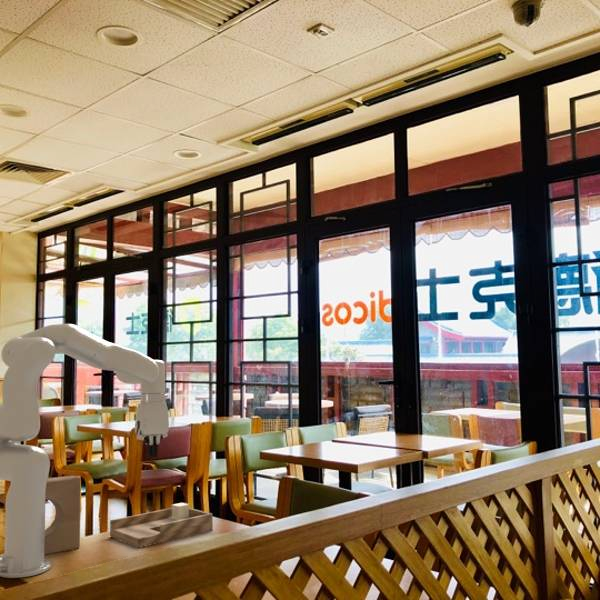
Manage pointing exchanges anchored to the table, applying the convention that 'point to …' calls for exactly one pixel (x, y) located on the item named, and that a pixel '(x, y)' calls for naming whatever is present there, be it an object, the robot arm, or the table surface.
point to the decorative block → (63, 514)
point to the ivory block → (180, 510)
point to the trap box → (159, 526)
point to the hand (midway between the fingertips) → (152, 457)
